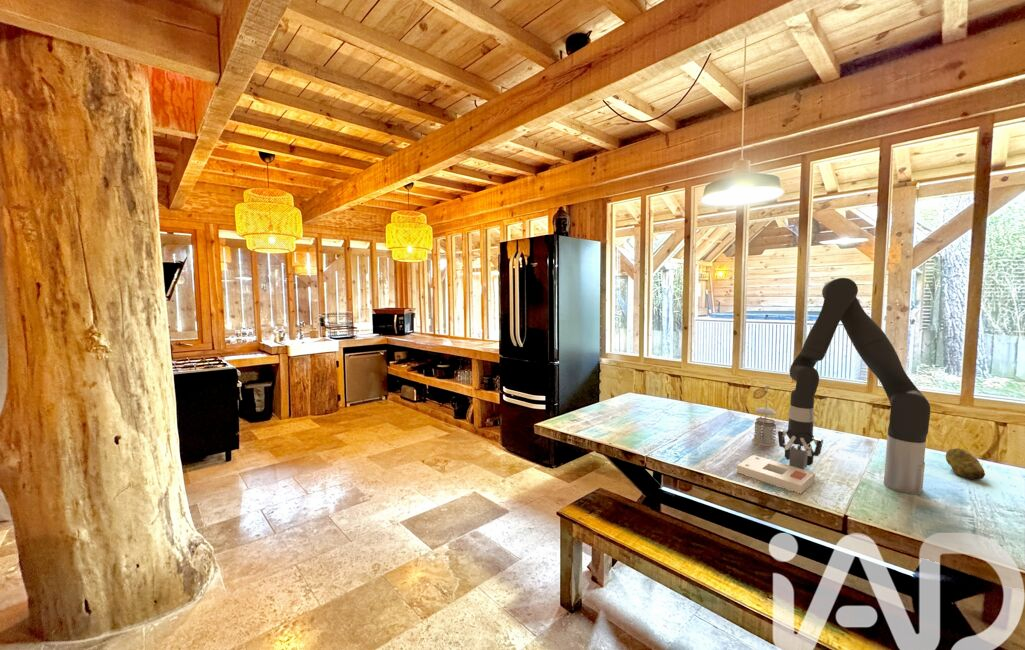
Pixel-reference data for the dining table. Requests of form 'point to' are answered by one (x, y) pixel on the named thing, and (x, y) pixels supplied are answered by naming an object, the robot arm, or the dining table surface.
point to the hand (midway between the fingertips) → (798, 461)
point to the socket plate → (776, 473)
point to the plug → (798, 457)
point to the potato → (964, 464)
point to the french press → (765, 427)
